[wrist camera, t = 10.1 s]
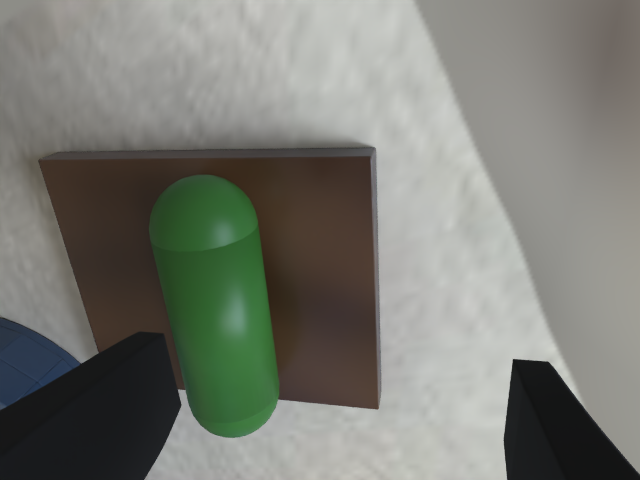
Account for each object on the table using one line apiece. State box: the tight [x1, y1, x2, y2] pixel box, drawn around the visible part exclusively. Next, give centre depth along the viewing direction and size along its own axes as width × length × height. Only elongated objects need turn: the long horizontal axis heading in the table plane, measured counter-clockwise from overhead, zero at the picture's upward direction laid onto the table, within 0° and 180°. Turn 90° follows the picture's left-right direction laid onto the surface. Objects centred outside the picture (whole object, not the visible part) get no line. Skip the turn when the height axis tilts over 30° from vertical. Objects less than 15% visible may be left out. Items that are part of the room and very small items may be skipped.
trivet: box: [39, 147, 381, 409], centre depth 21 cm, size 11×13×1 cm
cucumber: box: [149, 175, 279, 438], centre depth 18 cm, size 11×4×4 cm, turn 4°
